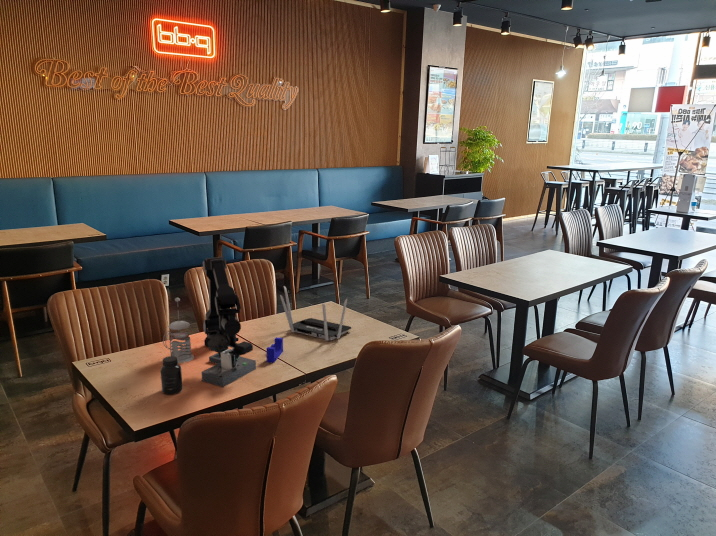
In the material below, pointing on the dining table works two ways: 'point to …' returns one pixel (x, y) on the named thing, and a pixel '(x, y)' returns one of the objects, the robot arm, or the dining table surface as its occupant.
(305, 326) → the wireless router
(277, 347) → the cable clip
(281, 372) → the dining table surface
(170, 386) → the supplement bottle
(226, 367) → the plug
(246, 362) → the port panel
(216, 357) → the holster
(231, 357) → the robot arm
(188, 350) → the french press
